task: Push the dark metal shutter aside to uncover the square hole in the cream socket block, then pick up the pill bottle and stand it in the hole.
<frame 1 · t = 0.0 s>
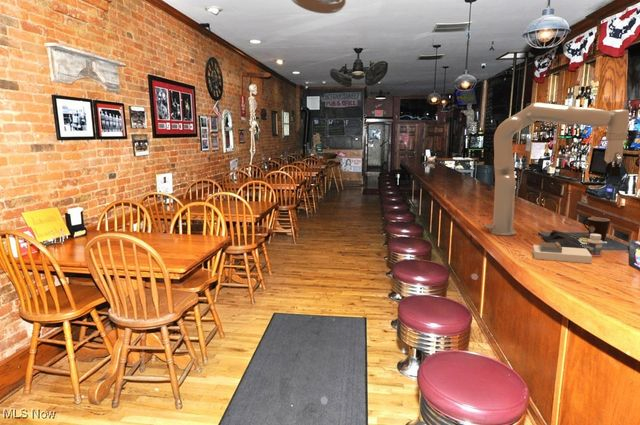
hand: (612, 174, 183), 31 cm above the table, tool pointing down, fingers open, 9 cm apart
coffee mug: (595, 239, 191), on the table
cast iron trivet: (563, 245, 184), on the table
pill bottle: (593, 255, 167), on the table
shutter: (550, 246, 166), point 4 cm above the table, slide at 0.0 cm
socket block: (560, 257, 166), on the table
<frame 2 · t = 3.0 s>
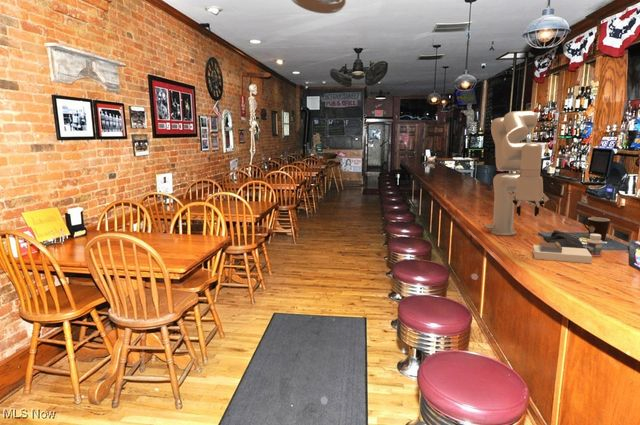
hand: (527, 215, 168), 18 cm above the table, tool pointing down, fingers open, 5 cm apart
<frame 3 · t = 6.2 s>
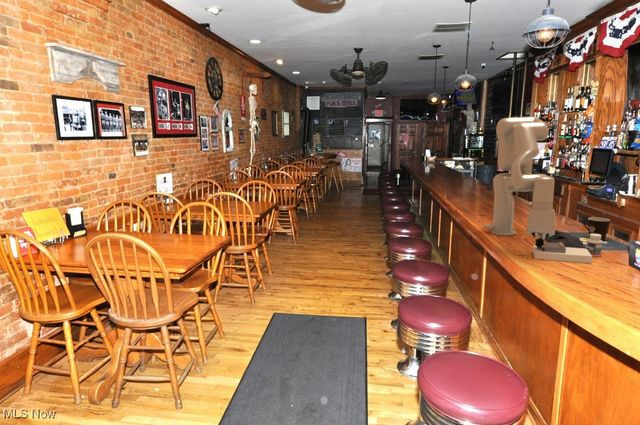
hand: (539, 247, 168), 4 cm above the table, tool pointing down, fingers closed
shutter: (554, 246, 166), point 4 cm above the table, slide at 1.3 cm, touching gripper
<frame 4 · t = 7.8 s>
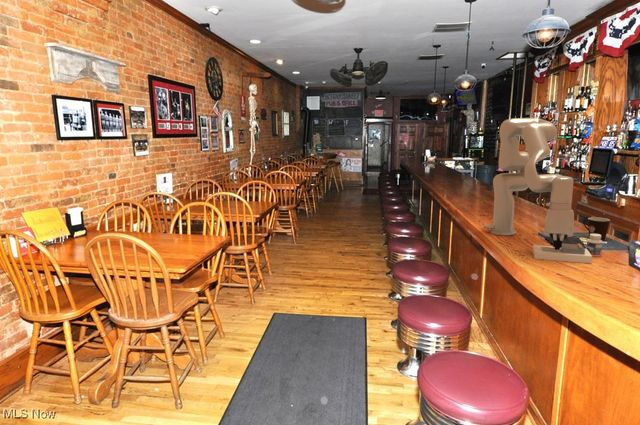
hand: (557, 248, 166), 4 cm above the table, tool pointing down, fingers closed
shutter: (572, 247, 163), point 4 cm above the table, slide at 8.0 cm, touching gripper
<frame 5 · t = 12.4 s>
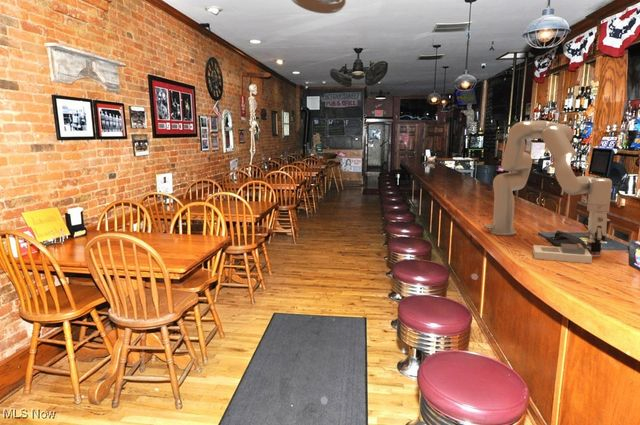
hand: (594, 249, 167), 2 cm above the table, tool pointing down, fingers closed on pill bottle, 5 cm apart
pill bottle: (593, 255, 167), on the table, touching gripper
shutter: (572, 247, 163), point 4 cm above the table, slide at 8.0 cm
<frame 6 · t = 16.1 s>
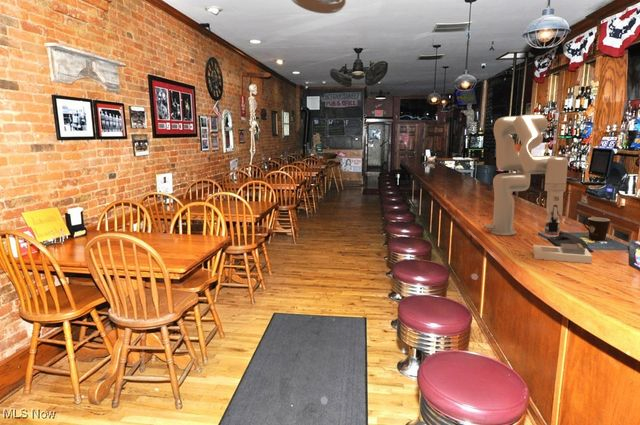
hand: (551, 229, 165), 12 cm above the table, tool pointing down, fingers closed on pill bottle, 5 cm apart
pill bottle: (551, 235, 165), point 9 cm above the table, touching gripper
when the fingers open (4 cm above the table, at t = 17.8 s): pill bottle drops 2 cm, resting in socket block.
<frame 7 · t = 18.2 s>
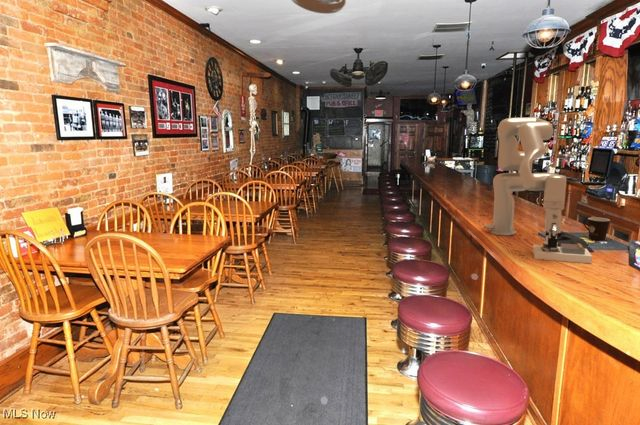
hand: (550, 244, 166), 5 cm above the table, tool pointing down, fingers open, 9 cm apart
pill bottle: (549, 256, 167), resting in socket block
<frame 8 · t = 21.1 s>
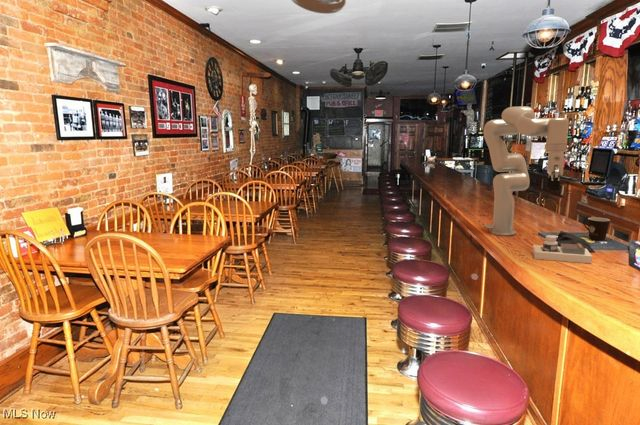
hand: (552, 188, 168), 28 cm above the table, tool pointing down, fingers open, 9 cm apart
at the end: pill bottle 0.1 cm from the target spot on the socket block, point 0.0 cm above the socket block's base; pill bottle tilted 0°; shutter slide at 8.0 cm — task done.
